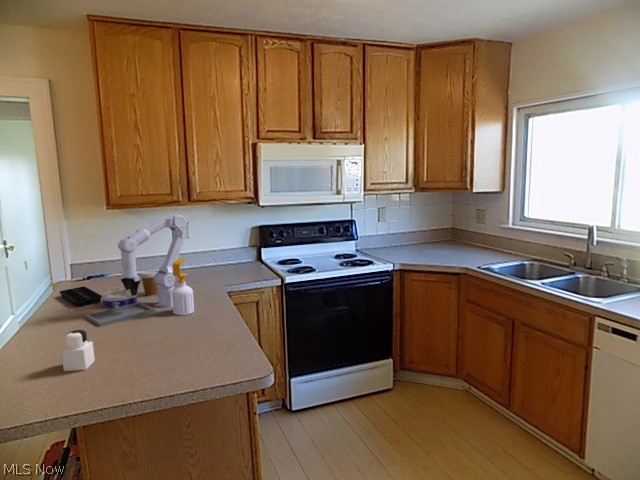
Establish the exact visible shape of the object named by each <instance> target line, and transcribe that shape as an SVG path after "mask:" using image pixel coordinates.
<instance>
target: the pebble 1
mask: <svg viewBox="0 0 640 480" xmlns="http://www.w3.org/2000/svg"><path fill="white" fill-rule="evenodd" d="M120 289H121V286H119V285H116V286H111V287H110V288H109V290H110V291H111V295H118V294H121V290H120Z"/></svg>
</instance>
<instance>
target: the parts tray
mask: <svg viewBox="0 0 640 480" xmlns="http://www.w3.org/2000/svg"><path fill="white" fill-rule="evenodd" d="M154 313H156V308H154V307H151V306H149V305H147V304H145V303H142V302H140V301H139V302H138V301H137V302H136V303H134V304H130V305H126V306H121V307H117V308H108V309H106V310H100V311H96V312H93V313H88V314H86V315H85V316H86V317H85V318H86V319H87V320H89V321H90V322H91V323H93V324H95V325H96V326H98V327H104V326H107V325H112V324H115V323H119V322H124V321H127V320H130V319H135V318H138V317H142V316H147V315H150V314H154Z"/></svg>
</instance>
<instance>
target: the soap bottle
mask: <svg viewBox="0 0 640 480" xmlns="http://www.w3.org/2000/svg"><path fill="white" fill-rule="evenodd" d="M185 262H186V259H184V258H178V260H176V261H175V262H174V263H173V265H172V268H173V275H174V276H175V277H177V278H178V281H177V286H176V287H174V288H175V289H174V290H173V291H172V301H173V306H172V312H173V314H174V315H177V316H188V315H190V314H193V313H194V312H195V302H194V290H193V288H192V287H190V286H189V285H187V283H186V280H185V279H184V278H185V277H186V276H188V273H183V272H181V265H182V264H183V263H185Z"/></svg>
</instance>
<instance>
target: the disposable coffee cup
mask: <svg viewBox="0 0 640 480" xmlns="http://www.w3.org/2000/svg"><path fill="white" fill-rule="evenodd" d="M158 271H159V270H155V269H154V270H153V269H151V270H145V271H141V273H140V276H139V277H141V281H142V282H141V283H142V287H143V290H144V294H145V297H150V296H158V293H157V284H156V283H155V282H154V276H155V274H156V273H157V272H158Z"/></svg>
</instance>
